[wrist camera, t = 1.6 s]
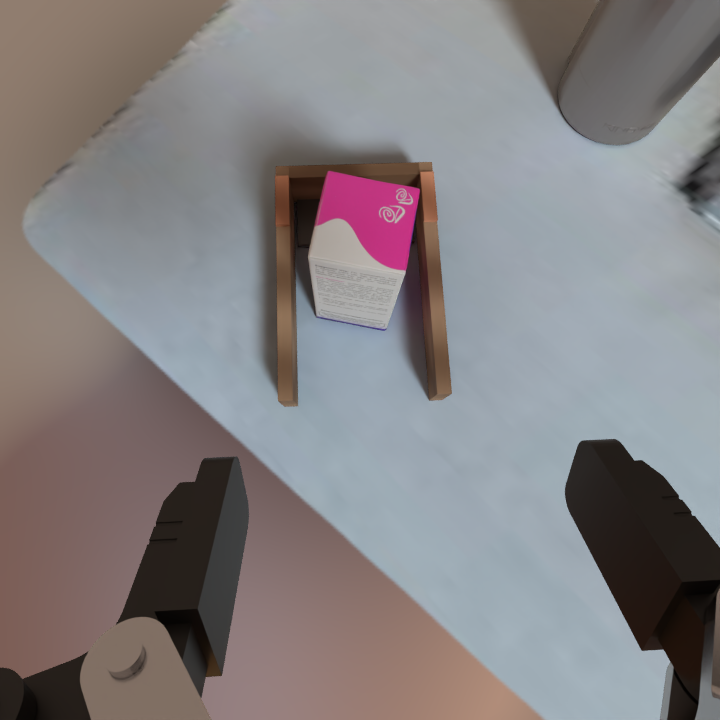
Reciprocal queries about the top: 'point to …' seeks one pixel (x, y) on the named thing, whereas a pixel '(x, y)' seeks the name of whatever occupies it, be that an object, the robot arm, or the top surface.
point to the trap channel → (307, 191)
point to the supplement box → (360, 248)
